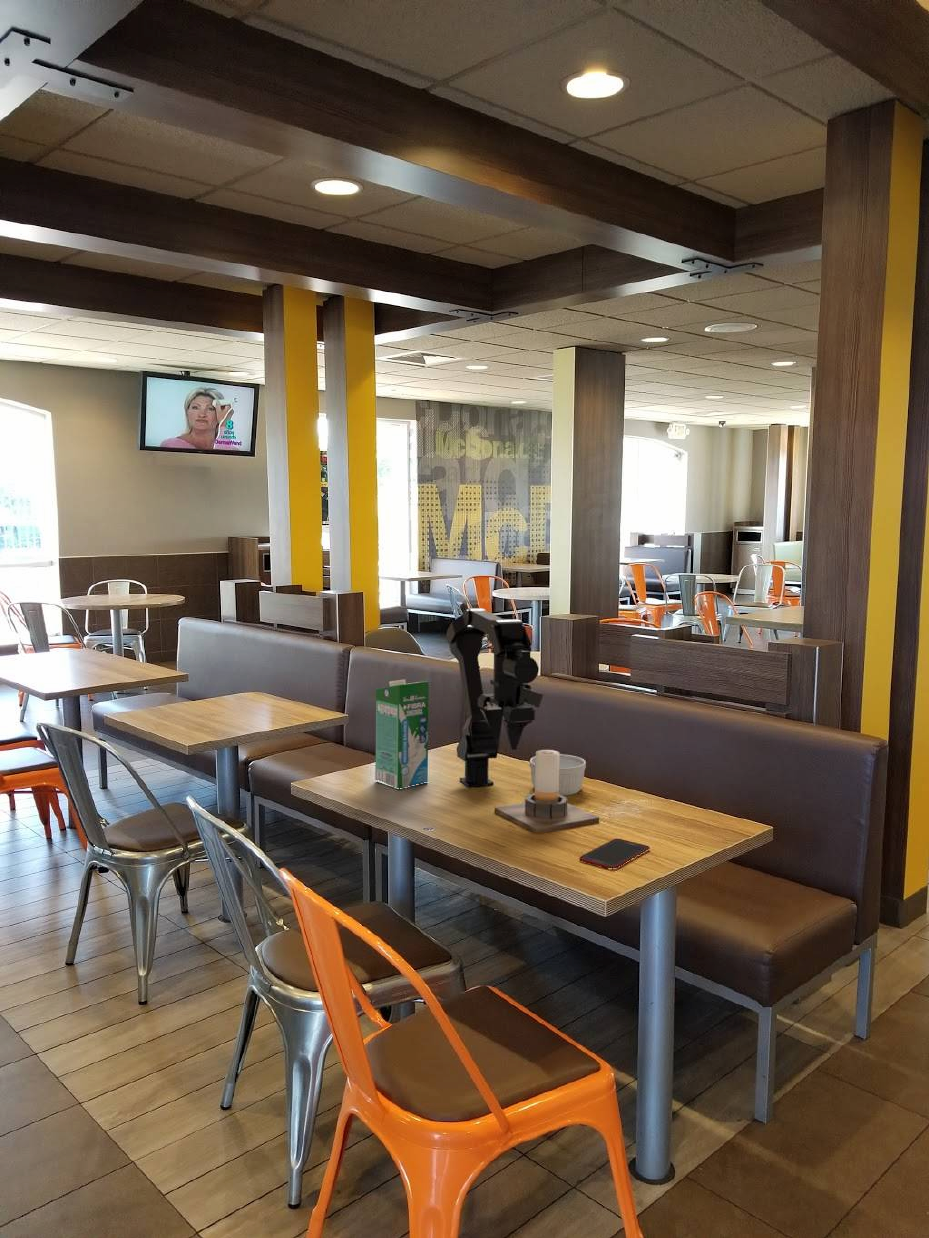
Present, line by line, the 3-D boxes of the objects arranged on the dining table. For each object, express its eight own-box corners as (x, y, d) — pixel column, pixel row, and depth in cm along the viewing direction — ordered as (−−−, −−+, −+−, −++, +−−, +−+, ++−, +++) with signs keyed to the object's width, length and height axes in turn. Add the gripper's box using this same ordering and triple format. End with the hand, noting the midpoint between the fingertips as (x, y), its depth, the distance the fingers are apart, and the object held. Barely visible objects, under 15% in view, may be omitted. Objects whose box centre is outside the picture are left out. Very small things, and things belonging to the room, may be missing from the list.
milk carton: (404, 775, 231) (405, 675, 229) (428, 783, 225) (429, 680, 222) (375, 782, 225) (375, 679, 223) (398, 790, 219) (399, 684, 216)
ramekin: (554, 801, 212) (555, 771, 212) (517, 787, 223) (518, 758, 222) (596, 791, 220) (597, 762, 220) (559, 778, 231) (559, 751, 230)
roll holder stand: (494, 811, 203) (494, 793, 203) (554, 801, 211) (555, 784, 211) (536, 833, 190) (536, 814, 189) (598, 822, 198) (599, 803, 197)
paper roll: (530, 813, 200) (531, 753, 198) (540, 807, 204) (541, 748, 203) (551, 817, 197) (553, 756, 196) (561, 811, 201) (563, 751, 200)
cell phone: (577, 862, 175) (577, 857, 175) (616, 842, 186) (616, 837, 186) (613, 873, 170) (613, 867, 170) (651, 851, 182) (651, 846, 182)
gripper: (558, 681, 202) (556, 751, 204) (521, 668, 220) (519, 733, 221) (511, 683, 198) (510, 755, 200) (477, 670, 216) (476, 736, 217)
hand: (505, 744), depth 210 cm, fingers open, 9 cm apart
